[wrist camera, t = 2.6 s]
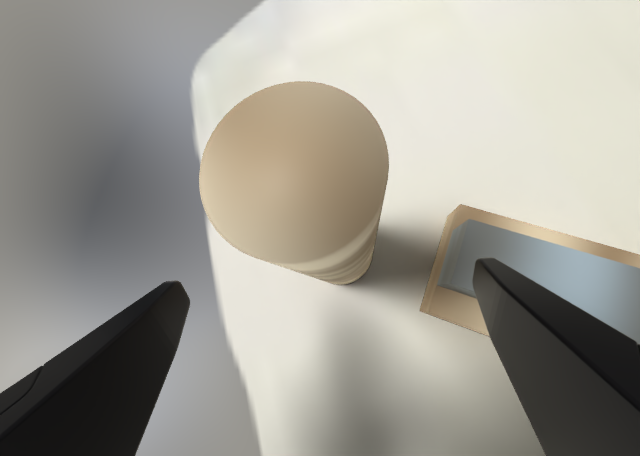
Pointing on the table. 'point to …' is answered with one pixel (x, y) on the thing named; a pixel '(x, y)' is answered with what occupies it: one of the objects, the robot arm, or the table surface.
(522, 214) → the table surface
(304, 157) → the maple post
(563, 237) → the ridge rail
